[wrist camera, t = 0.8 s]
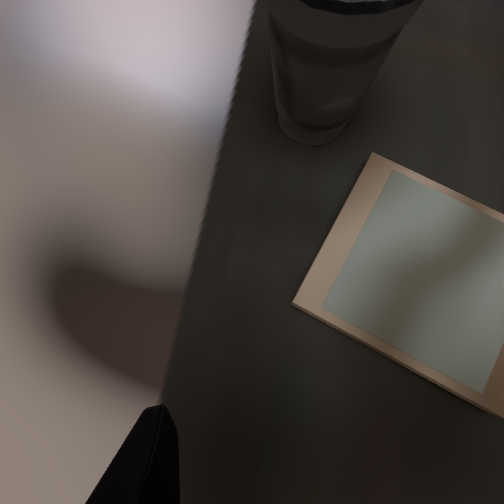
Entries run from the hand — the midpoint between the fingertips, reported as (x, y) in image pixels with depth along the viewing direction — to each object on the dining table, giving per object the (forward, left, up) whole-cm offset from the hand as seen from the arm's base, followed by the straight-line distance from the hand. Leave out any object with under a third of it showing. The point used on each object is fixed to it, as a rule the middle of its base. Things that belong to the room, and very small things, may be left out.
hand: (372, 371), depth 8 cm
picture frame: (-4, -7, -14) cm, 16 cm away
